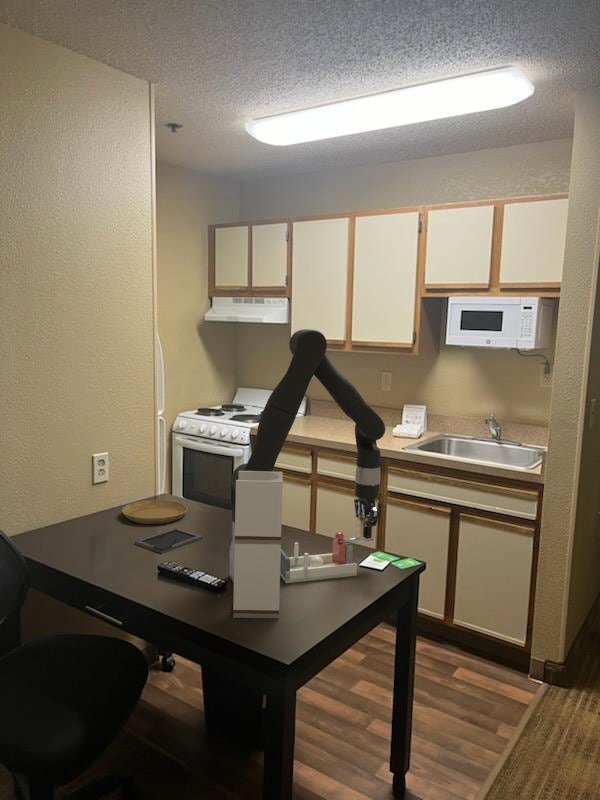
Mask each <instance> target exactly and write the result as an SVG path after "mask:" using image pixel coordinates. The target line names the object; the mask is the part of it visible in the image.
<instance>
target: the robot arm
mask: <svg viewBox="0 0 600 800" xmlns="http://www.w3.org/2000/svg"><path fill="white" fill-rule="evenodd" d="M288 342H289V346H288V347H289V349H290V352H291V354H292V358H291V359H290V360H291V361H290V363H289V366H288V368H287V371H286V373H285V374H284V375H283V377H282V378H281V380H280V381H279V382H278V384H277V385H276V387H274V389H273V390H272V392H271V394H270V395H269V396H268V399H267V401H266V403H265V405H264V408H263V410H262V413H261V415H260V418H259V421H258V426H257V430H256V436H255V443H254V447H253V450H252V452H251V454H250V457H249V459H248V461H247V462H246V463H242V464H240V465H238V466H237V467H236V468H235V469H234V470H233V472H232V475H231V478H230V479H231V480H230V509H231V516H232V517H231V544H230V545H229V568H228V570H229V573H228V574H229V578H230V580H231V581H232V583H233V584H234V553H235V502H236V480H238V476H239V471H271V472H274V469H275V466H276V462H277V460H278V457H279V455H280V454H281V451H282V450H283V449H282V448H283V447H284V444H285V443H286V440H287V437H288V435H289V433H290V431H291V429H292V428H293V426H294V425H293V424H294V422H295V421H296V418H297V415H298V412H299V411H300V408H301V406H302V403H303V401H304V397H305V395H306V393H307V390H308V387H309V385H310V383H311V381H312V378H313V376H314V377H315V378H316V379H317V380H318V381H319V382H320V384H321V385H322V386H323V387H324V389H325V391H326V392H328V394H329V395H330V396H331V398H332V399H333V400H334V401H335V403H336V404H337V406H338V407H339V409H341V411H342V412H343V414H345V416H347V417H348V418H349V419H351V420H352V421H353V422H354V424H355V425H354V437H355V444H356V448H357V453H356V454H357V455H356V469H355V476H354V496H355V497H357V498H354V500H353V502H354V503H353V504H354V511H355V517H363V519H364V525H365V526H364V538H366V539H368V538H371V536H372V526H375V527H377V523H378V520H379V517H380V516H379V515H380V512H381V511H380V509H377V508H376V499H377V498H379V497H380V492H381V491H380V490H381V457H382V456H381V450H380V448H379V447H378V445H377V441H378V440H380V439H382V438H383V437H384V436H385V433H386V424H385V423H384V420H383V419H382V418H381V417H380V416H379V414H378V413H377V411H375V410H374V409H373V408H372V407H371V406H370V405H369V404H368V403H367V402H366V401H365V399H364V398H363V397H362V395H361V393H360V392H359V391H358V390H357V388H356V387H355V386H354V385H353V384H352V382H351V381H350V379H349V380H348V378H347V377H346V376H345V375H343V373H342V372H341V371H340V370H338V369H337V367H336V366H334V364H333V363H332V361H331V360H329V358H328V357H327V355H326V352H327V349H328V341H327V338H326V337H325V334H323V333H322V332H321V331H319V330H317V329H311V328H310V329H309V328H305V329H299V330H297V331H295V332H294V333H293V334H292V335H291V337H290V339H289V341H288ZM367 519H368V522H367Z"/></svg>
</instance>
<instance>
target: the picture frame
mask: <svg viewBox="0 0 600 800" xmlns="http://www.w3.org/2000/svg"><path fill="white" fill-rule="evenodd" d="M203 538H204V537H203V535H200V534H197V533H194V532H192V531H191V532H190V531H188V530H183V529H181V528H178V527H174V528H171V529H167V530H165V531H161V532H158V533H155V534H153V535H150V536H149V535H148V536H146V537H143V538H140V539H137V540H134V545H136V546H139V547H142V548H145V549H147V550H149V551H150V550H151V551H153V552H157V553H159V554H164V553H168V552H170V551H173V550H176V549H179V548H181V547H184V546H187V545H190V544H193V543H195V542H198V541H201V540H203Z"/></svg>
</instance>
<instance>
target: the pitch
mask: <svg viewBox="0 0 600 800" xmlns="http://www.w3.org/2000/svg"><path fill="white" fill-rule="evenodd" d="M299 545H300V544H299V542H294V546H293V547H294V548H293V549H294V550H293V556H291V557H289V556H288V555H287V553H286V552H285V551H284V550H283V548H281V560H280V578H282V580H283V581H284V583H286V584H290V583H292V584H293V583H299V582H300V583H301V582H309V581H318V580H319V581H320V580H327V579H338V578H345V577H346V578H347V577H354V576H356V577H357V575H358V563H356V562H354V563H353V550H354V549H353V548H354V545H353V543H346V544H345V564H341V565H335V564H334V563H333V562H332V552H331V553H323V554H312V555H311V554H309V553H308V552H305V553H303V555H301V556H299ZM314 556H319V557H321V558H322V560H323V566H321V567H311V566H310V560H311V559H312V558H313V557H314Z"/></svg>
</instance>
